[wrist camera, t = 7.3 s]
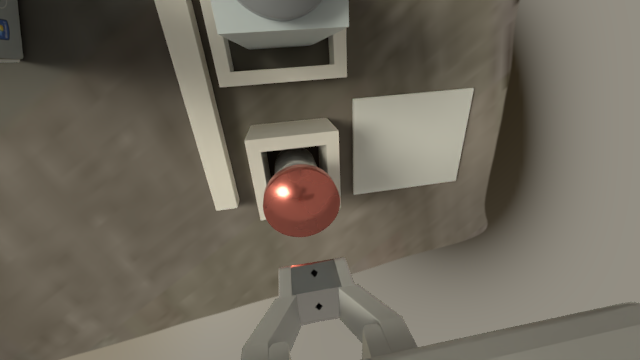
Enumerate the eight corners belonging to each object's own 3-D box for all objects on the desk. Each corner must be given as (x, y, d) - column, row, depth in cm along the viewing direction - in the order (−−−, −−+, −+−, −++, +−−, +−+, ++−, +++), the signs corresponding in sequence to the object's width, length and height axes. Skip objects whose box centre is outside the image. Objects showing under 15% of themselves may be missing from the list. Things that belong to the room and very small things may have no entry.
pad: (352, 98, 23) (353, 99, 22) (471, 87, 24) (474, 88, 24) (352, 193, 27) (354, 194, 27) (453, 179, 28) (455, 180, 28)
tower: (250, 125, 22) (244, 140, 18) (326, 117, 23) (338, 130, 19) (263, 192, 25) (260, 220, 21) (330, 183, 26) (341, 208, 22)
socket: (45, -409, 11) (1, -499, 9) (330, -371, 13) (339, -443, 11) (219, 202, 25) (215, 213, 23) (343, 186, 27) (348, 195, 25)
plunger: (262, 141, 21) (256, 175, 15) (320, 135, 21) (338, 165, 15) (271, 193, 23) (269, 242, 17) (323, 186, 24) (341, 230, 17)
